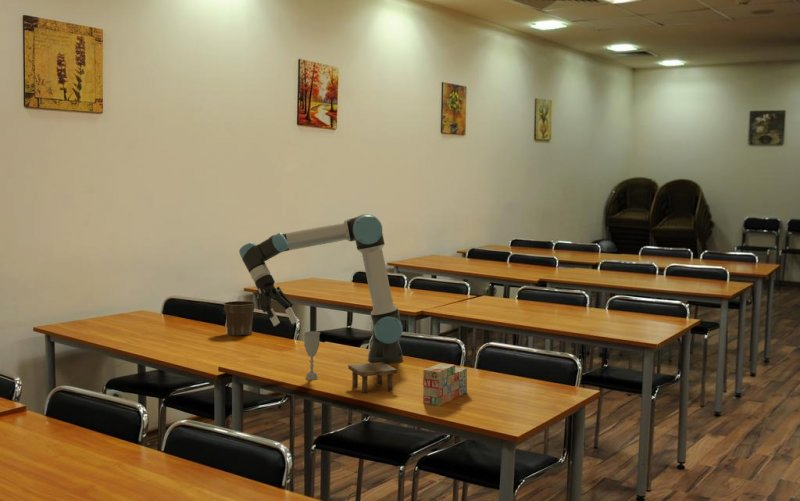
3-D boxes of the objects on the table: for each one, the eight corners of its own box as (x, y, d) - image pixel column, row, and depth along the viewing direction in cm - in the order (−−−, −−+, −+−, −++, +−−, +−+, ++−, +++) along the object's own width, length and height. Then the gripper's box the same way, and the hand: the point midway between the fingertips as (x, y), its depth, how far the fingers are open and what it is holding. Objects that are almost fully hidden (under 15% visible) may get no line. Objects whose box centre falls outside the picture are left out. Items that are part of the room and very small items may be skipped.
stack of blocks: (452, 390, 298) (452, 358, 297) (467, 393, 295) (467, 360, 294) (422, 403, 280) (423, 369, 279) (438, 406, 277) (438, 371, 276)
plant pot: (230, 330, 418) (229, 300, 417) (259, 331, 416) (259, 301, 415) (218, 336, 402) (218, 304, 401) (249, 337, 400) (249, 305, 399)
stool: (382, 382, 310) (382, 362, 309) (396, 390, 297) (397, 369, 296) (348, 385, 304) (348, 365, 303) (361, 394, 291) (361, 372, 290)
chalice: (317, 380, 311) (317, 335, 310) (300, 379, 313) (300, 334, 311) (322, 376, 319) (322, 331, 317) (306, 375, 320) (306, 331, 319)
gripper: (272, 282, 339) (295, 326, 334) (238, 283, 316) (261, 330, 311) (285, 273, 337) (308, 316, 332) (251, 273, 314) (275, 320, 309)
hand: (286, 323), depth 321 cm, fingers open, 13 cm apart
